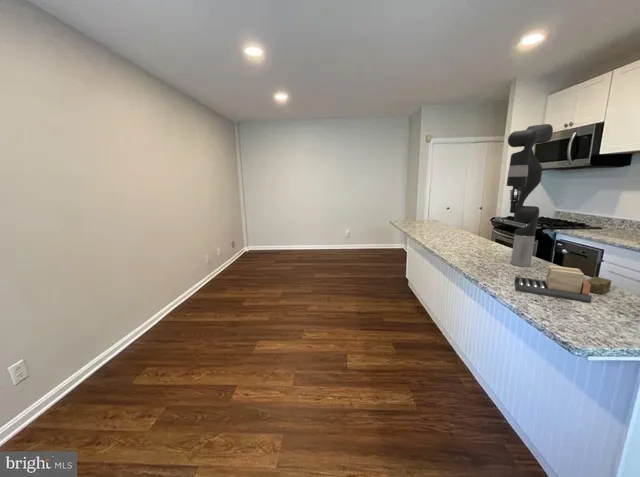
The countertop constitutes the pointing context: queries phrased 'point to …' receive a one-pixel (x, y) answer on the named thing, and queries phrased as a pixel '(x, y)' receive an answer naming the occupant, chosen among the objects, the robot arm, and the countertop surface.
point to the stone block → (599, 285)
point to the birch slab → (564, 279)
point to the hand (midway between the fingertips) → (512, 212)
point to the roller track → (542, 289)
